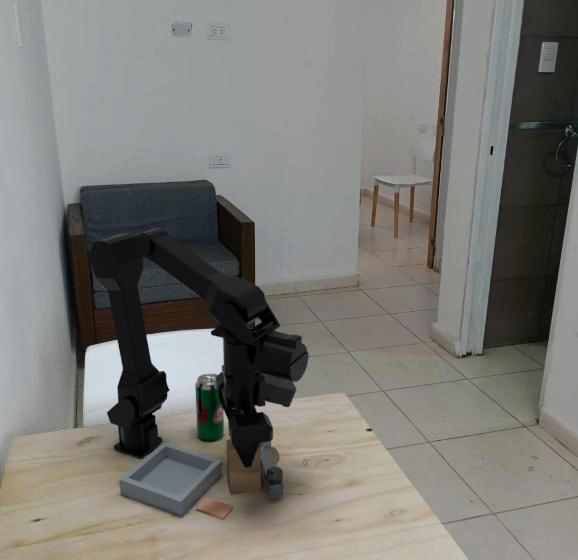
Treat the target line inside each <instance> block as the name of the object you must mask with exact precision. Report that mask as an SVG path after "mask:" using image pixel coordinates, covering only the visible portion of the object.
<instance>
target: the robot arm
mask: <svg viewBox="0 0 578 560" xmlns="http://www.w3.org/2000/svg"><path fill="white" fill-rule="evenodd" d="M88 253H89V254H88V255H89V261H90V264H91V266H92V270H93V273H94V275H95V276H94V277H95V278H96V280H98V282H99V283H100V284H101V285H102V286H103V287H104V289H105V290H106V291H107V293H108V298H109V299H108V300H109V304H110V308H111V314H112V318H113V319H112V320H113V324H114V325H113V326H114V330H115V335H116V340H117V347H118V350H119V351H118V352H119V355H120V359H121V367H122V371H121V374H120V377H119V381H118V384H117V402H116V404H114V405H113V406H112V407H111V408H110V409H109V410H108V411H107V412H106V415H107V417H108V420H109V423H110V424H112V425H115V426H117V430H118V440H119V441H118V442H117V443H116V444H114V445H113V450H115V451H118V452H121V453H124V454H127V455H130V456H132V457H135V458H139V459H141V458H143V457H145V456H146V455H148V454H149V452H151V451H152V450H153V449H154V448H157V446H158V445H160V444H161V443H163V437H160V436H159V431H158V424H157V423H156V422H157V421H156V415H155V414H154V413H155V412H157V411H160V410H161V409H162V406H163V404H164V403H165V402H166V400H168V392H170V388H169V385H168V383H167V373H166V371H165V370H159V369H158V368H157V367H156V366H155V364H154V363H153V362H152V359H151V358H152V357H151V353H150V352H151V351H150V348H149V342H148V337H147V331H146V327H145V326H146V325H145V320H144V314H143V309H142V304H141V298H140V296H141V295H140V292H139V284H140V278H141V276H142V272H143V271H144V258H146V259H147V260H149V261H151V262H152V263H153V264H155V265H156V267H157V266H158V267H159V268H160V269H161V270H162V271H164V272H165V273H167V274H168V275H169V276H171V277H172V278H174V279H175V280H176V281H178V282H179V283H181V284H182V285H184V286H185V287H186V288H187V289H189V290H190V291H192V292H193V293H194V294H195V295H197V296H198V297H199V298H200V299H202V300H203V302H204V305H205V307H206V309H207V312H208V313H209V314H210V315H211V316H212V318H214V320H216V321H217V322H218V325H217V326H216V327H214V329H212V330H210V335H211V336H213V337H217V338H221V339H222V348H223V349H222V351H223V365H221V371H220V373H219V374H217V375H218V376H217V377H216V389H217V392H218V397H219V400H220V403H221V405H222V407H223V409H224V414H225V416H226V418H227V420H228V422H227V423H228V424H227V427H228V436H229V439H230V440H231V443H232V445H233V446H234V448H235V450H236V452H237V454H238V456H239V458H240V460H241V462H242V464H243V465H244V467H245V468H247V467H251V466H252V463H253V460H254V457H255V454H256V451H257V448H258V446H259V444H260V443H262V442H269V441H271V442H272V440H273V439H274V427H273V425H272V422H271V419H270V417H269V415H267V414H266V413H264V411H261V412H257V408H256V407H258V408H260V407H266V402H267V403H272V404H276V405H280V406H282V407H284V408H290V407H291V404H292V402H293V399H294V397H295V395H296V392H297V387H296V385H295V384H294V382H295V383H297V382H299V381H300V380H302V378H303V375H304V374H305V372H306V369H307V367H308V364H309V363H308V361H309V351H308V348H307V346H306V345H305V343H303V337H302V335H298V334H289V333H284V332H279V331H276V330H278V329H279V328H280V327H281V323H280V322H279V319H278V318H277V317H276V315H275V314H274V312H273V311H272V308H271V307H270V306H269V303H268V302H267V300H266V298H265V293H264V291H263V290H262V289H261V288H260V287H259V286H257V285H256V284H253V283H252V282H250V281H248V280H245V279H243V278H242V277H239V276H238V277H237V276H234V275H233V276H232V275H229V274H224V273H223V272H221V271H219V270H218V269H216V268H215V267H214V266H212V265H210V264H209V263H208V262H206V261H205V260H203V259H202V258H201V257H200V256H198V255H196V254H195V253H193V252H192V251H191V250H189V249H188V248H187V247H185V246H184V245H182V244H181V243H180V242H178V241H177V240H175V239H174V238H172V237H171V236H170V235H169V233H168V232H167V230H165V229H163V228H158V227H157V228H156V227H155V228H152V229H150V230H146V231H144V232H140V233H139V234H137V235H136V236H135V235H133V234H131V233H127V232H124V233H120V234H117V235H114V236H110V237H106V238H104V239H100V240H97V241H95V242H94V243H93V244H92V246H91V248H89V252H88ZM256 320H260V322H259V323H257V325H255V326H253V327H248V326H249V325H250V324H252V323H253V322H255V321H256Z"/></svg>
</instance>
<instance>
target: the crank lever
mask: <svg viewBox="0 0 578 560" xmlns="http://www.w3.org/2000/svg"><path fill="white" fill-rule="evenodd" d="M259 446H260V449H261V475H262V479H263V482H264V484H265V488H266V490H267V495H268V496H269V499H274V498H280V497H284V486H285V485H284V481H283V480H284V470H283V469H282V467H279V466H277V463H276V462H275V460H274V457H273V455H272V452H271V446H272V440H271V441H269V442H262V443H260V444H259Z"/></svg>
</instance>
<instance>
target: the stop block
mask: <svg viewBox="0 0 578 560" xmlns="http://www.w3.org/2000/svg"><path fill="white" fill-rule="evenodd" d="M225 440H226V441H225V446H226V447H225V448H226V450H225V451H226V481H227V485H228V489H229V490H228V491H229V494H230V496H234V495H235V496H236V495H240V494H241V495H242V494H248V493H253V492H261V490H262V489H261V488H262V486H261V485H262V484H261V480H262V479H261V478H262V477H261V475H262V473H261V449H260V446H258V448H257V451H256V454H255V457H254V460H253V463H252V466H251V467H247V468H245V467H244V465H243V464H242V462H241V460H240V458H239V456H238V454H237V452H236V450H235V448H234V446H233V445H232V443H231V440H230V438H229V439H228V438H227V439H225Z"/></svg>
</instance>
